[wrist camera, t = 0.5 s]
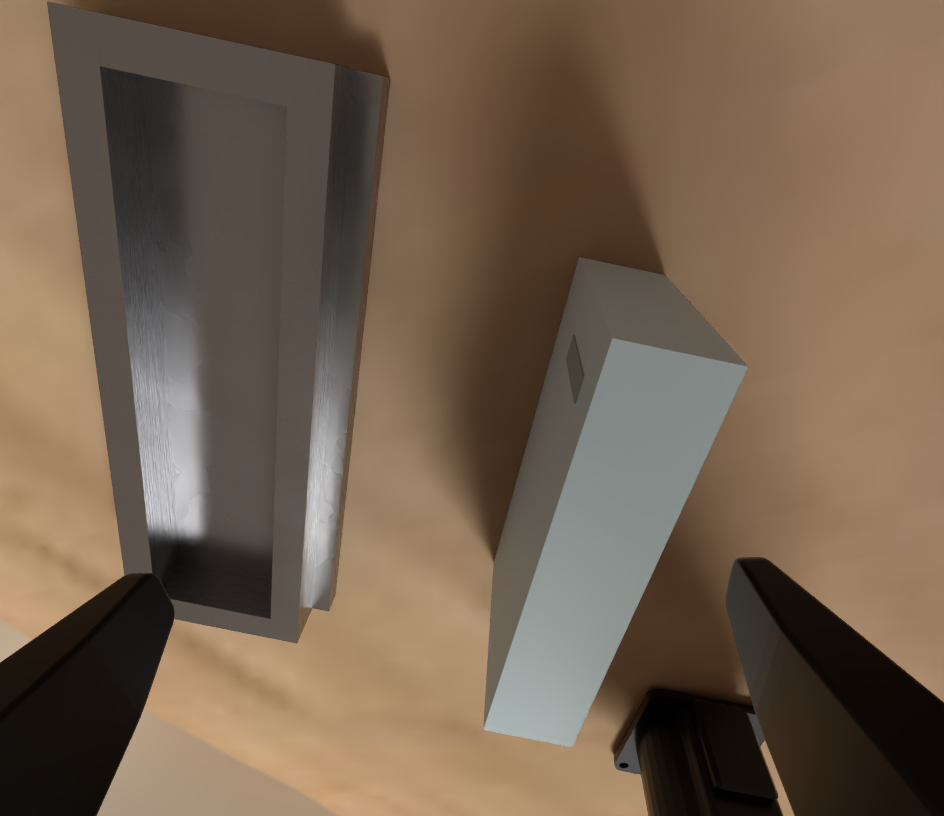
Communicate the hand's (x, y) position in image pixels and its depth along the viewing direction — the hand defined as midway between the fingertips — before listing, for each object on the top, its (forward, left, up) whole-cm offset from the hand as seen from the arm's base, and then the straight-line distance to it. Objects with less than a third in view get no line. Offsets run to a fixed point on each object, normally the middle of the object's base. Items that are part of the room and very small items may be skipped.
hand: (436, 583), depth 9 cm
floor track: (-4, +9, -13) cm, 16 cm away
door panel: (-4, -4, -13) cm, 14 cm away
